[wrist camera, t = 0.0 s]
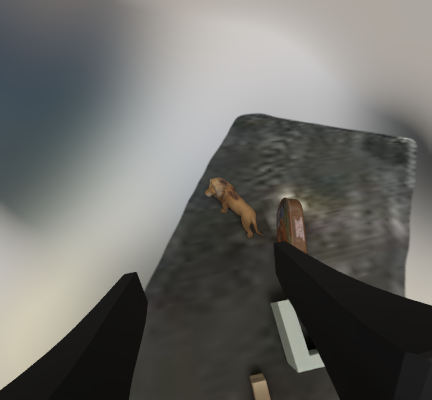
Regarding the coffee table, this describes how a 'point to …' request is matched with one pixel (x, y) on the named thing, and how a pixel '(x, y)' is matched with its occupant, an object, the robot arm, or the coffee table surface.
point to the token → (259, 387)
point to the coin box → (294, 338)
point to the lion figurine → (233, 203)
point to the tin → (291, 224)
